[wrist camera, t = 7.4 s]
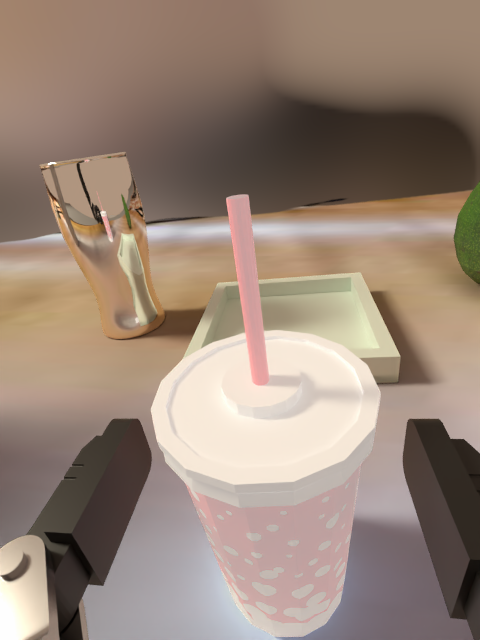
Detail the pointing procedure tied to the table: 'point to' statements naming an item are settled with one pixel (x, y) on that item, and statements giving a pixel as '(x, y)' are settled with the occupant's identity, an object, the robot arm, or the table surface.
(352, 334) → the tray
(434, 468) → the robot arm
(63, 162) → the metal tumbler
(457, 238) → the avocado
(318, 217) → the table surface
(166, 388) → the beverage cup
